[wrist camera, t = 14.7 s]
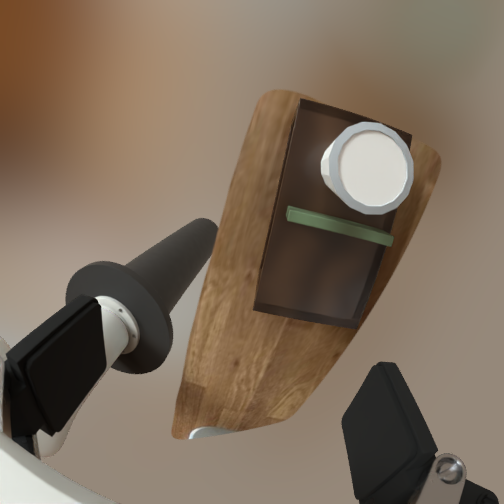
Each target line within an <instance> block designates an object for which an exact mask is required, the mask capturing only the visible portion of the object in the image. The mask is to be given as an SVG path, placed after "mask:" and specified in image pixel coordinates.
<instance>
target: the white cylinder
mask: <svg viewBox="0 0 504 504" xmlns="http://www.w3.org/2000/svg"><path fill="white" fill-rule="evenodd" d="M321 175H322V177H323V179H324V182H325V184H326V185H327V186H328V187H329V188H330V189H331V190H332V191H333V192H334V193H335V194H336V195H337V196H338V197H339V198H340V199H341V200H342V201H343V202H345V203H346V204H347V205H348V206H349V207H351V208H353V209H355V210H357V211H359V212H362V213H364V214H384V213H386V212H389V211H391V210H393V209H395V208H397V207H398V206H399V205H400V204H401V203H402V202H403V200H404V199H405V198H406V197H407V196H408V194H409V191H410V188H411V185H412V183H413V160H412V157H411V154H410V152H409V149H408V147H407V145H406V143H405V142H404V141H403V140H402V139H401V138H400V136H399V135H398V134H397V133H396V132H395V131H393V130H392V129H390V128H388V127H386V126H384V125H382V124H381V123H373V122H361V123H358V124H355V125H352V126H350V127H347V128H346V129H345V130H344V131H343V132H342V133H341V134H340V135H339V136H338V137H337V138H336V139H335V140H334V142H333V143H332V144H331V145H330V146H329V147H328V149H327V150H326V151H325V152H324V155H323V158H322V160H321Z"/></svg>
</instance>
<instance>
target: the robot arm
mask: <svg viewBox="0 0 504 504" xmlns="http://www.w3.org/2000/svg"><path fill="white" fill-rule="evenodd" d="M139 339H140V332H139V327H138V324H137V322H136V320H135V318H134V316H133V315H132V314H131V312H130V311H129V310H128V309H127V308H126V307H125V306H124V305H123V304H122V303H120V302H119V301H117V300H116V299H113V298H111V297H107V296H98V297H95V298H93V297H90V296H87V295H85V294H81V295H79V296H78V297H76V298H75V299H74V300H72V301H71V302H70V303H68V304H67V305H66V306H64V307H63V308H62V309H60V310H59V311H58V312H56V313H55V314H54V315H53V316H51V317H50V318H49V319H47V320H46V321H45V322H44V323H42V324H41V325H40V326H39V327H37V328H36V329H35V330H33V331H32V332H31V333H30V334H29V335H27V336H26V337H25V338H24V339H22V340H21V341H20V342H19V343H18V344H16V345H15V346H14V347H13V348H12V349H11V348H10V347H9V345H8V344H7V343H6V342H5V340H4V339H3V338H1V337H0V504H120V503H117V502H115V501H113V500H111V499H108V498H106V497H104V496H102V495H100V494H98V493H95V492H93V491H92V490H89V489H87V488H86V487H83V486H82V485H80V484H78V483H76V482H75V481H73V480H71V479H69V478H68V477H66V476H64V475H62V474H61V473H59V472H58V471H56V470H54V469H53V468H51V467H50V466H48V465H46V464H45V463H44V462H42V461H41V458H40V457H50V456H53V455H54V454H56V453H57V452H58V451H59V450H60V448H61V447H62V445H63V444H64V441H65V439H66V437H67V434H68V432H69V429H70V427H71V425H72V422H73V420H74V418H75V416H76V414H77V413H78V411H79V409H80V408H81V406H82V404H83V403H84V402H85V400H86V399H87V398H88V396H89V395H90V393H91V392H92V391H93V389H94V388H95V387H96V385H97V384H98V383H99V381H100V380H101V378H102V377H103V376H104V375H105V373H106V372H107V371H108V369H109V368H110V367H111V365H112V364H113V363H114V362H115V360H116V359H117V358H118V356H119V355H120V354H127V353H130V352H131V351H133V350H134V349H135V348H136V346H137V345H138V343H139ZM342 429H343V433H344V439H345V444H346V449H347V454H348V460H349V465H350V471H351V476H352V483H353V489H354V495H355V498H356V499H357V500H359V504H499V502H498V498H497V497H496V495H495V494H494V493H493V492H491V491H490V490H487V489H485V488H483V487H481V486H479V485H477V484H475V483H473V482H471V481H469V480H467V479H466V467H465V465H464V463H463V462H462V460H461V459H460V458H458V457H457V456H455V455H453V454H449V453H444V454H441V455H439V456H438V457H437V458H436V457H435V453H436V452H437V451H438V448H437V446H436V444H435V442H434V440H433V438H432V435H431V433H430V431H429V429H428V426H427V424H426V422H425V420H424V418H423V416H422V414H421V412H420V409H419V407H418V406H417V403H416V402H415V399H414V397H413V395H412V393H411V392H410V390H409V388H408V386H407V384H406V382H405V380H404V378H403V376H402V374H401V372H400V371H399V368H398V367H397V365H396V364H395V363H392V362H379V363H377V365H374V366H373V367H372V368H371V370H370V372H369V373H368V375H367V377H366V379H365V381H364V382H363V384H362V386H361V387H360V389H359V391H358V393H357V394H356V396H355V398H354V399H353V401H352V402H351V404H350V406H349V407H348V409H347V410H346V412H345V413H344V415H343V418H342Z"/></svg>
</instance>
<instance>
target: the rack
mask: <svg viewBox="0 0 504 504" xmlns="http://www.w3.org/2000/svg"><path fill="white" fill-rule="evenodd" d="M361 122H373V123H381V122H379V121H376V120H373V119H370V118H367V117H364V116H361V115H358V114H355V113H352V112H349V111H346V110H343V109H339V108H336V107H333V106H329V105H325V104H322V103H318V102H314V101H310V100H306V99H302V98H300V100H299V103H298V106H297V108H296V111H295V114H294V117H293V120H292V124H291V129H290V134H289V138H288V143H287V148H286V152H285V157H284V162H283V166H282V171H281V175H280V180H279V185H278V189H277V194H276V198H275V203H274V207H273V212H272V216H271V221H270V225H269V230H268V234H267V239H266V243H265V247H264V252H263V256H262V261H261V265H260V269H259V274H258V280H257V287H256V293H255V299H254V306H253V310H254V311H259V312H263V313H268V314H273V315H278V316H283V317H288V318H293V319H299V320H304V321H309V322H315V323H321V324H326V325H332V326H338V327H344V328H351V329H357V327H358V324H359V322H360V319H361V317H362V314H363V312H364V309H365V307H366V304H367V302H368V299H369V296H370V294H371V291H372V288H373V286H374V283H375V280H376V277H377V274H378V271H379V268H380V265H381V262H382V259H383V256H384V253H385V250H386V247H387V246H390V247H391V246H392V243H393V239H394V236H392V235H390V233H391V230H392V226H393V223H394V219H395V215H396V211H397V208H395V209H393V210H391V211H389V212H386V213H384V214H364V213H362V212H359V211H357V210H355V209H353V208H351V207H349V206H348V205H347V204H346V203H345V202H343V201H342V200H341V199H340V198H339V197H338V196H337V195H336V194H335V193H334V192H333V191H332V190H331V189H330V188H329V187H328V186H327V185H326V184H325V182H324V179H323V177H322V175H321V160H322V158H323V155H324V152H325V151H326V150H327V149H328V147H329V146H330V145H331V144H332V143H333V142H334V140H335V139H336V138H337V137H338V136H339V135H340V134H341V133H342V132H343V131H344V130H345V129H346V128H347V127H350V126H352V125H355V124H358V123H361ZM381 124H382V125H384V126H386V127H388V128H390V129H392V130H393V131H395V132H396V133H397V134H398V135H399V136H400V138H401V139H402V140H403V141H404V142H405V143H406V145H407V147H408V149H409V152H410V146H411V140H412V135H411V134H409V133H406V132H404V131H402V130H399V129H397V128H394V127H392V126H389V125H386V124H384V123H381Z"/></svg>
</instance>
